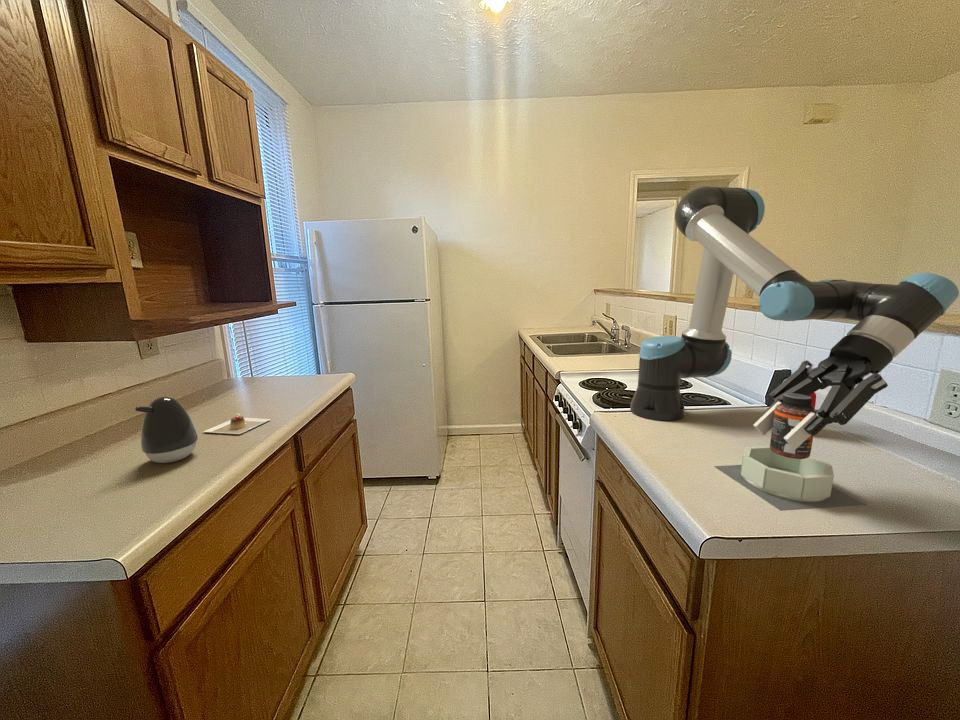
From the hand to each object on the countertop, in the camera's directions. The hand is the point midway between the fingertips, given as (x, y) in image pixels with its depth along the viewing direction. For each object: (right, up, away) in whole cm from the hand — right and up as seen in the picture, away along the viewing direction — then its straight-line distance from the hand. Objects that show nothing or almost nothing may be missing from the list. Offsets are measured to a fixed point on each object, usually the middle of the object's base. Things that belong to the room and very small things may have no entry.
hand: (773, 436), depth 68 cm
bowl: (+4, -10, +2) cm, 11 cm away
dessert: (-126, -6, +40) cm, 132 cm away
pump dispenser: (-128, -10, +19) cm, 130 cm away
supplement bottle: (+4, -4, +1) cm, 5 cm away
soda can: (+30, -5, +30) cm, 42 cm away
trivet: (+4, -10, +3) cm, 11 cm away
